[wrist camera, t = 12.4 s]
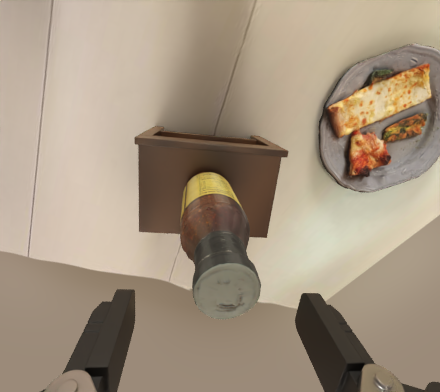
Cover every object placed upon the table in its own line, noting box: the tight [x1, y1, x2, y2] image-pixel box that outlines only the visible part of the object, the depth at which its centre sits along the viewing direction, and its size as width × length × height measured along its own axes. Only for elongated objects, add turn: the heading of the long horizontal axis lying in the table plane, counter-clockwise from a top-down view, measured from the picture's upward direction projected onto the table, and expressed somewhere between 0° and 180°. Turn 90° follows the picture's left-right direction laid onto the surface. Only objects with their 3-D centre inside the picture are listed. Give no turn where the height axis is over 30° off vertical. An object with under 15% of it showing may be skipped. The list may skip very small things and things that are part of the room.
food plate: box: [319, 44, 440, 192], centre depth 44 cm, size 25×23×4 cm
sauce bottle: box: [180, 172, 261, 319], centre depth 24 cm, size 6×6×20 cm
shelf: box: [135, 126, 288, 238], centre depth 38 cm, size 18×13×15 cm
